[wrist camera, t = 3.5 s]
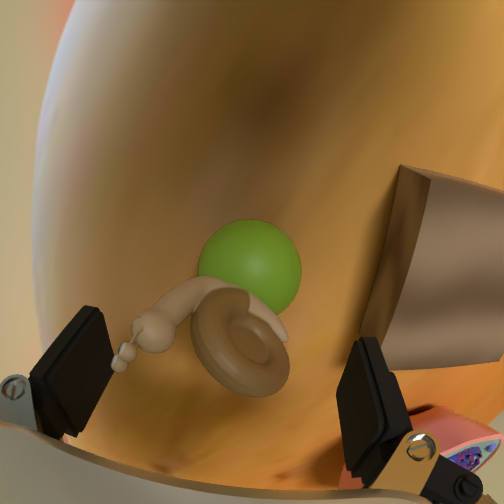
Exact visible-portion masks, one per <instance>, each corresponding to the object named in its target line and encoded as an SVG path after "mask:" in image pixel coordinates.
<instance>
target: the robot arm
mask: <svg viewBox="0 0 504 504" xmlns="http://www.w3.org/2000/svg"><path fill="white" fill-rule="evenodd" d="M113 357H114V353H113V350H112V346H111V343H110V339H109V335H108V331H107V327H106V323H105V319H104V315H103V313H102V312H100V310H99V308H97V307H92V306H87V305H85V306H83V307H82V308H81V309H80V311H79V312H78V313H77V314H76V315H75V316H74V318H73V319H72V320H71V321H70V322H69V324H68V325H67V326H66V327H65V328H64V330H63V331H62V332H61V333H60V335H59V336H58V337H57V338H56V340H55V341H54V342H53V343H52V345H51V346H50V347H49V348H48V350H47V351H46V352H45V353H44V355H43V356H42V357H41V359H40V360H39V361H38V363H37V364H36V365H35V366H34V368H33V369H32V371H31V372H30V373H29V374H30V377H29V378H28V379H27V378H26V377H24V376H23V375H18V374H16V375H11V376H8V377H7V378H5V379H4V380H3V381H2V382H1V384H0V504H497V503H496V502H495V501H494V500H493V499H492V498H491V497H490V496H489V495H488V494H487V495H484V494H483V493H482V492H483V485H482V481H481V480H480V478H479V477H478V476H477V475H475V474H474V473H473V472H471V471H469V470H467V469H465V468H463V467H461V466H460V465H458V464H456V463H454V462H453V461H451V460H449V459H447V458H445V457H444V456H442V455H440V454H439V453H440V445H439V442H438V440H437V439H436V438H435V436H434V435H432V434H431V433H429V432H427V431H424V430H413V427H412V424H411V421H410V417H409V414H408V411H407V408H406V405H405V402H404V399H403V396H402V393H401V390H400V388H399V385H398V382H397V379H396V376H395V375H394V373H393V372H389V370H388V367H387V364H386V361H385V359H384V356H383V353H382V350H381V348H380V345H379V342H378V340H377V338H376V337H360V339H359V341H355V342H354V344H353V347H352V350H351V353H350V355H349V358H348V361H347V364H346V366H345V369H344V372H343V374H342V377H341V380H340V382H339V385H338V387H337V391H336V399H337V406H338V412H339V419H340V426H341V433H342V441H343V448H344V456H345V464H346V470H347V471H351V477H352V478H359V477H361V481H362V483H363V484H364V485H363V486H362V487H361V489H341V490H269V489H254V488H242V487H233V486H224V485H217V484H210V483H203V482H197V481H192V480H186V479H181V478H176V477H172V476H167V475H163V474H158V473H154V472H150V471H146V470H143V469H139V468H135V467H132V466H128V465H125V464H122V463H118V462H115V461H112V460H109V459H106V458H103V457H100V456H97V455H95V454H92V453H89V452H86V451H84V450H81V449H79V448H76V447H73V446H71V445H68V444H66V443H64V441H63V438H62V437H63V435H64V433H66V434H68V435H70V436H73V437H75V438H76V437H77V435H78V433H79V432H82V431H83V430H84V428H85V426H86V424H87V422H88V420H89V418H90V416H91V414H92V412H93V410H94V409H95V407H96V405H97V403H98V401H99V399H100V397H101V395H102V393H103V391H104V389H105V388H106V386H107V384H108V382H109V380H110V378H111V376H112V375H113V373H114V370H113V369H112V367H111V361H112V358H113Z"/></svg>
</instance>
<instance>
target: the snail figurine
mask: <svg viewBox="0 0 504 504" xmlns="http://www.w3.org/2000/svg"><path fill="white" fill-rule="evenodd" d="M300 281H301V261H300V257H299V254H298V251H297V249H296V247H295V245H294V244H293V242H292V241H291V239H290V238H289V237H288V236H287V235H286V234H285V233H284V232H283V231H282V230H280V229H279V228H277V227H276V226H274V225H272V224H269V223H267V222H264V221H259V220H240V221H236V222H233V223H230V224H228V225H226V226H224V227H222V228H221V229H219V230H218V231H217V232H216V233H214V234H213V235H212V237H211V238H210V239H209V240H208V242H207V243H206V245H205V246H204V248H203V250H202V253H201V256H200V259H199V265H198V277H194V278H191V279H188V280H186V281H184V282H182V283H180V284H178V285H177V286H175V287H174V288H173V289H171V290H170V291H169V292H168V293H166V294H165V295H164V296H163V297H161V298H160V299H159V300H158V301H157V302H156V303H155V305H154V306H153V307H152V308H150V309H148V310H145V311H143V312H141V313H140V314H139V316H138V318H137V319H135V320H134V321H133V322H132V324H131V334H132V339H131V341H130V342H125V343H123V344H122V345H121V346H120V348H119V351H118V354H116V355H115V356H114V357H113V358H112V361H111V367H112V369H113V370H114V371H115V372H118V373H122V372H124V371H126V370H127V368H128V362H131V361H133V360H134V359H135V358H136V355H137V350H136V348H135V346H134V345H133V344H132V343H133V342H135V343H136V344H137V345H138V347H140V348H141V349H142V350H144V351H146V352H149V353H162V352H164V351H166V350H168V349H169V348H170V347H171V346H172V344H173V343H174V340H175V334H176V328H177V327H178V326H179V325H180V324H181V323H182V322H183V321H184V320H185V319H186V318H187V317H188V316H189V315H190V314H192V318H191V327H190V330H191V338H192V342H193V346H194V349H195V351H196V353H197V356H198V358H199V359H200V361H201V362H202V364H203V366H204V367H205V368H206V369H207V371H208V372H209V373H210V374H211V375H212V376H213V377H214V378H215V379H216V380H217V381H218V382H219V383H221V384H222V385H223V386H225V387H226V388H228V389H230V390H231V391H233V392H236V393H238V394H241V395H244V396H249V397H266V396H269V395H272V394H274V393H276V392H277V391H278V390H280V389H281V388H282V387H283V386H284V384H285V382H286V381H287V378H288V375H289V369H290V365H289V358H288V354H287V352H286V349H285V347H284V345H283V343H286V342H287V341H288V334H287V332H286V330H285V328H284V326H283V324H282V322H281V321H280V319H279V318H278V316H277V315H278V314H280V313H281V312H282V311H283V310H285V309H286V308H287V307H288V306H289V304H290V303H291V302H292V300H293V299H294V297H295V295H296V293H297V291H298V289H299V286H300Z"/></svg>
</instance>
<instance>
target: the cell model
mask: <svg viewBox="0 0 504 504" xmlns="http://www.w3.org/2000/svg"><path fill="white" fill-rule="evenodd" d="M409 417H410V421H411V424H412V427H413V430H424V431H427V432H429V433H431V434H432V435H434V436H435V438H436V439H437V440H438V442H439V445H440V453H439V454H440V455H442V456H444V457H445V458H447V459H449V460H451V461H453V462H454V463H456V464H458V465H460V466H461V467H463V468H465V469H467V470H469V471H471V472H473V473H474V474H475V473H476V472H477V471H478V470H480V469H481V468H482V467H483V466H484V465H485V464H486V463H487V462H488V461H489V460H490V459H491V458H492V457H493V456H494V455H495V454H496V452H498V450H499V449H500V447H501V446H502V444H503V442H504V435H503V434H501V433H500V432H498V431H496V430H494V429H493V428H491V427H489V426H488V425H486V424H484V423H481V422H479V421H476V420H473V419H470V418H468V417H465V416H463V415H461V414H459V413H456V412H454V411H453V410H451V409H449V408H447V407H443V406H441V407H435V408H432V409H429V410H427V411H424V412H421V413H417V414H414V415H411V416H409ZM363 485H364V484H363V483H362V481H361V477H359V478H352V477H351V471H347V470H346V464H345V463H344V465H343V468H342V471H341V475H340V479H339V486H338V490H341V489H361V487H362V486H363Z"/></svg>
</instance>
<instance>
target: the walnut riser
mask: <svg viewBox="0 0 504 504" xmlns="http://www.w3.org/2000/svg"><path fill="white" fill-rule="evenodd" d="M359 333H360V337H376V338H377V340H378V342H379V345H380V348H381V350H382V353H383V356H384V359H385V361H386V364H387V367H388V370H389V371H392V370H415V369H431V368H444V367H455V366H465V365H474V364H482V363H489V362H496V361H499V360H500V358H501V357H502V355H503V354H504V191H502V190H499V189H495V188H492V187H489V186H486V185H482V184H479V183H475V182H472V181H468V180H464V179H460V178H457V177H453V176H449V175H445V174H441V173H437V172H432V171H428V170H424V169H419V168H414V167H410V166H405V165H400V170H399V176H398V182H397V187H396V193H395V198H394V203H393V208H392V213H391V217H390V222H389V226H388V231H387V235H386V239H385V244H384V248H383V252H382V256H381V260H380V263H379V267H378V271H377V274H376V278H375V282H374V285H373V289H372V292H371V295H370V299H369V302H368V305H367V309H366V312H365V315H364V318H363V321H362V324H361V327H360V330H359Z"/></svg>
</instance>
